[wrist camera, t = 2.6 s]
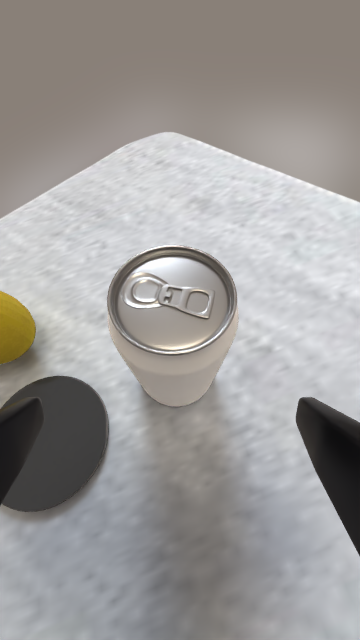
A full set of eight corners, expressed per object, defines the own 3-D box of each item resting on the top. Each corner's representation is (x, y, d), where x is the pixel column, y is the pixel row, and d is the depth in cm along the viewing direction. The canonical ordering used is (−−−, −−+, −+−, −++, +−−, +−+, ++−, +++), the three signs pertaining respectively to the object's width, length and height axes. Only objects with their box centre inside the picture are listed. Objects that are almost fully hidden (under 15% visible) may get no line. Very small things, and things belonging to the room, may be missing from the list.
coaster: (33, 545, 16) (29, 549, 15) (-37, 444, 18) (-43, 444, 18) (133, 427, 19) (131, 427, 18) (60, 356, 22) (57, 354, 21)
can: (152, 328, 23) (127, 227, 12) (219, 344, 22) (255, 252, 11) (129, 396, 20) (69, 342, 9) (204, 417, 19) (235, 385, 9)
